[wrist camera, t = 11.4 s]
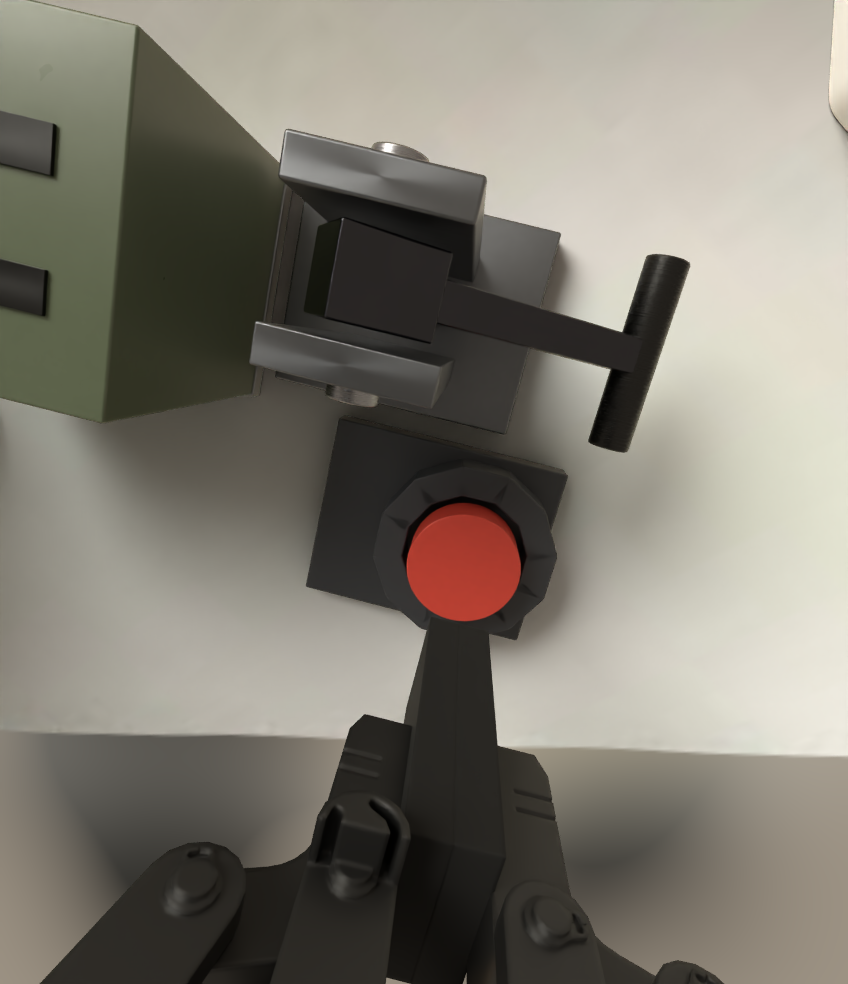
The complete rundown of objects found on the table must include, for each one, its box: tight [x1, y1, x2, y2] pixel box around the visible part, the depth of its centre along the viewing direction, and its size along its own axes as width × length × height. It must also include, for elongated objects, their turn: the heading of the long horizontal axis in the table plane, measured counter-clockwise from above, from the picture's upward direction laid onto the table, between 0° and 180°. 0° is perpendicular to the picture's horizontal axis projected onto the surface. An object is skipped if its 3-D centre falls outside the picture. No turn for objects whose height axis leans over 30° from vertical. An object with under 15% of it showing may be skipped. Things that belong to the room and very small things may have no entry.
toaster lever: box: [304, 217, 690, 453], centre depth 16 cm, size 11×6×2 cm, turn 77°
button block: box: [306, 416, 568, 640], centre depth 25 cm, size 10×8×3 cm
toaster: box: [0, 0, 292, 423], centre depth 19 cm, size 11×9×11 cm
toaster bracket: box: [249, 129, 561, 434], centre depth 18 cm, size 10×8×12 cm
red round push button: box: [407, 503, 521, 621], centre depth 23 cm, size 4×4×2 cm
